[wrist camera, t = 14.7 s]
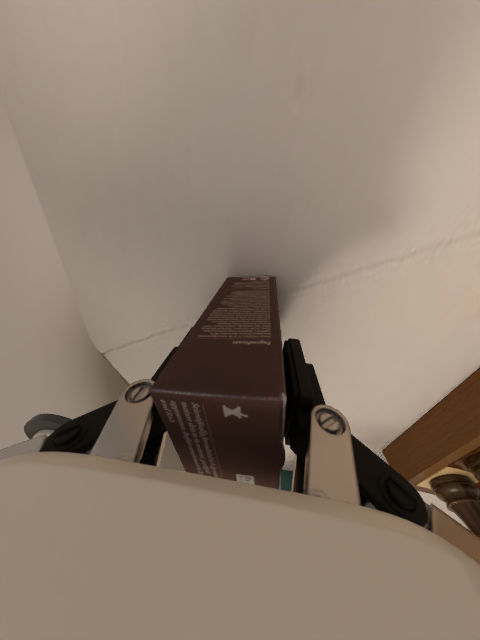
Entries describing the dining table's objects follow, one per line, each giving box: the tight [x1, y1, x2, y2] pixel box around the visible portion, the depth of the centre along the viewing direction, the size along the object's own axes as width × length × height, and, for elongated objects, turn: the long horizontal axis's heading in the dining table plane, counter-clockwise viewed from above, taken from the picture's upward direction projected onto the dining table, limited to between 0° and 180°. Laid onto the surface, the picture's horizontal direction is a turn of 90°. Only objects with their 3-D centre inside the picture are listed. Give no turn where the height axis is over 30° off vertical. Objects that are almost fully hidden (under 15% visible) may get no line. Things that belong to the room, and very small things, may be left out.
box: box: [149, 276, 287, 489], centre depth 11 cm, size 6×4×12 cm
